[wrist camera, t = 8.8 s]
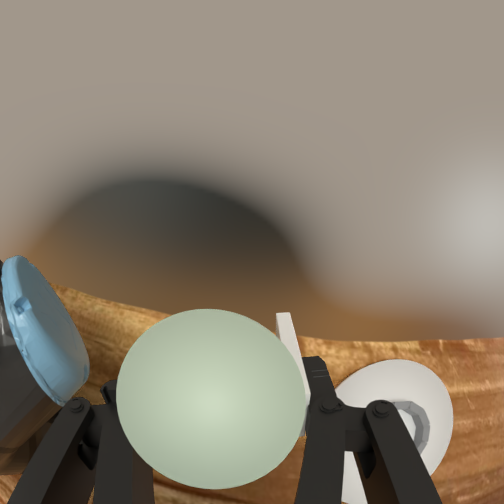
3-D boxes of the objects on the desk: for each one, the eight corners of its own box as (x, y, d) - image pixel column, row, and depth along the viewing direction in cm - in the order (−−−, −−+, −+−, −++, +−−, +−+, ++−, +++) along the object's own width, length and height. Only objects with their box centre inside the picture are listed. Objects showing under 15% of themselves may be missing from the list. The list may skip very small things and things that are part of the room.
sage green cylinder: (194, 426, 16) (104, 456, 5) (207, 357, 18) (139, 295, 8) (270, 439, 15) (289, 500, 5) (280, 368, 18) (315, 321, 7)
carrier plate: (296, 507, 22) (300, 516, 19) (320, 357, 32) (326, 353, 29) (436, 489, 20) (448, 493, 17) (451, 359, 30) (464, 354, 27)
